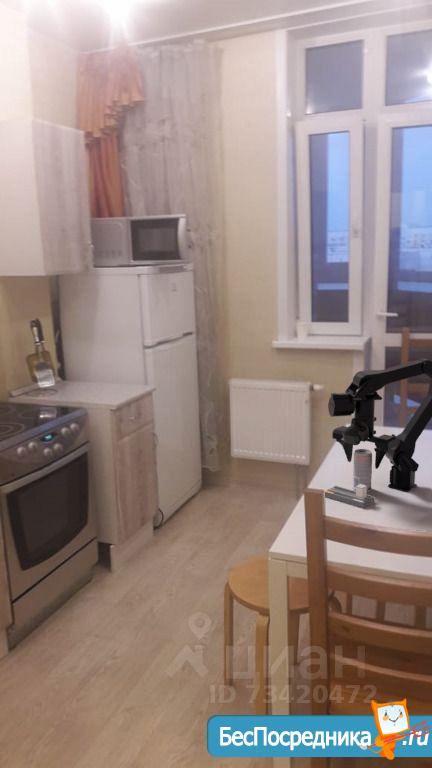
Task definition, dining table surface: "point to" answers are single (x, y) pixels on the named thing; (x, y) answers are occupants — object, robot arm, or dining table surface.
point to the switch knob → (361, 491)
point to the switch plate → (348, 496)
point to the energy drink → (362, 468)
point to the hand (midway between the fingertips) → (363, 465)
